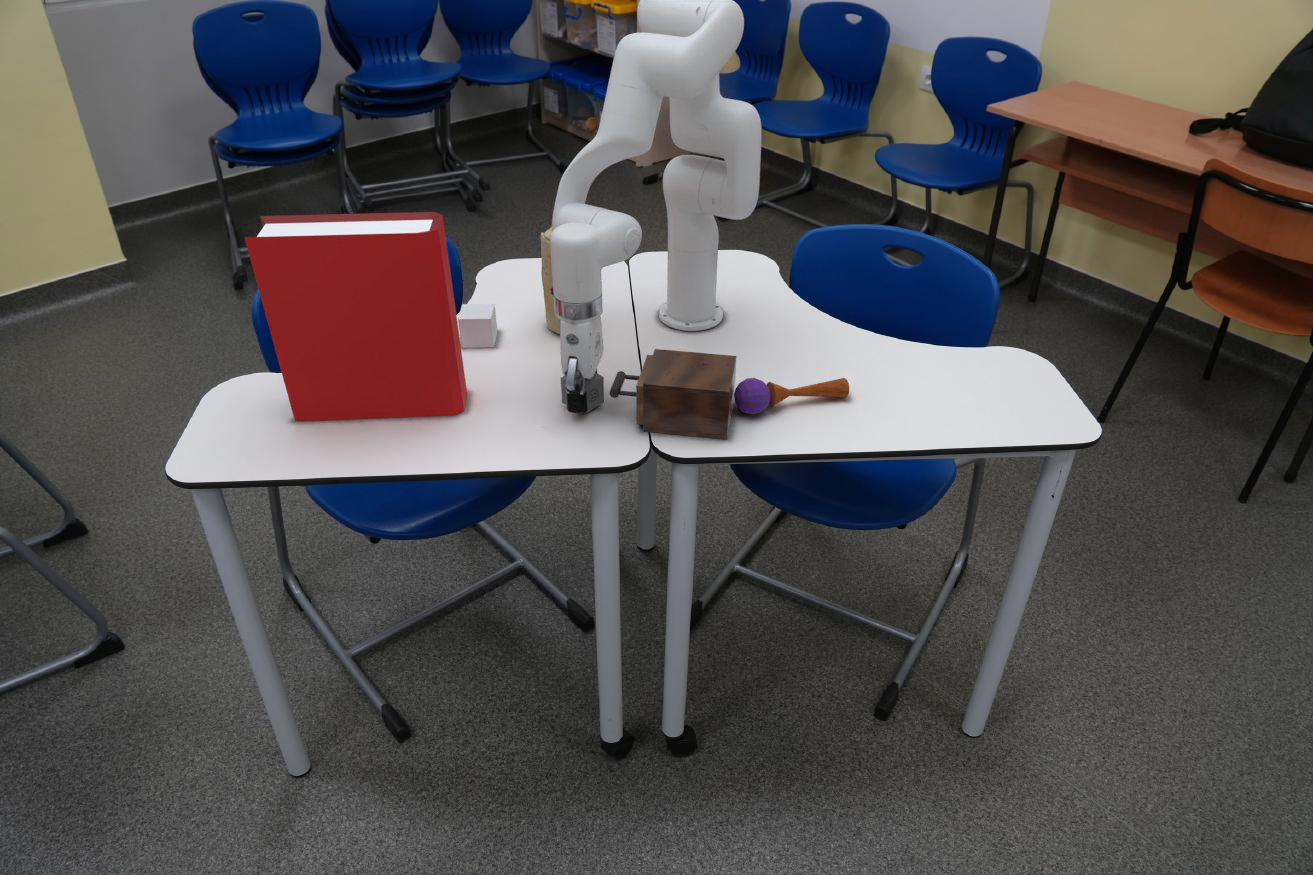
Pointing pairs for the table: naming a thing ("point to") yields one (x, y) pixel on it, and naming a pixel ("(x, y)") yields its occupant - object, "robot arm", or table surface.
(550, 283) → the food model
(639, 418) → the drawer
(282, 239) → the book
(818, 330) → the table surface
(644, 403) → the cabinet
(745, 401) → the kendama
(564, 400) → the dice cube
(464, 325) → the white cube
